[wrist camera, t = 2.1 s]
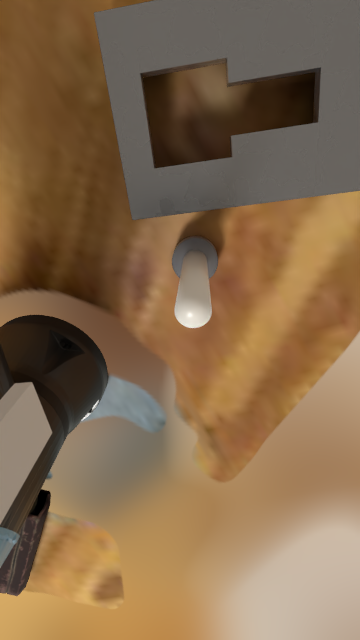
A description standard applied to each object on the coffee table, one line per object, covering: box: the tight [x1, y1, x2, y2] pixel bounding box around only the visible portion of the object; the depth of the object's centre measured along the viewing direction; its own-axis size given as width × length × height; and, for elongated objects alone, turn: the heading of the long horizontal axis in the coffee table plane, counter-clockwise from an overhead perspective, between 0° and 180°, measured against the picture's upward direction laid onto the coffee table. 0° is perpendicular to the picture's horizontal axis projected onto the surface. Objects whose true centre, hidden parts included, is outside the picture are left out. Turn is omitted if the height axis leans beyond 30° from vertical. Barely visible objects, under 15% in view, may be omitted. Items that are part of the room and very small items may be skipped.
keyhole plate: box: [94, 0, 360, 220], centre depth 25 cm, size 20×14×4 cm
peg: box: [172, 236, 218, 328], centre depth 26 cm, size 5×5×14 cm
